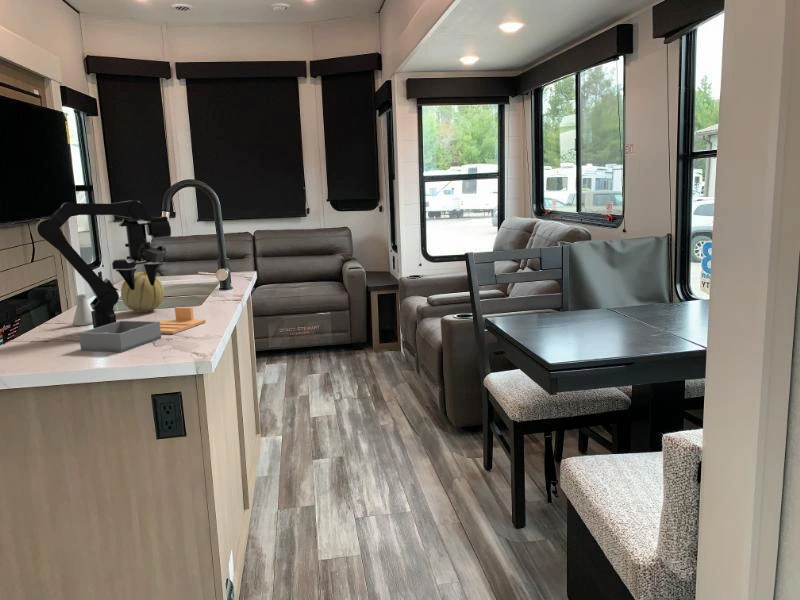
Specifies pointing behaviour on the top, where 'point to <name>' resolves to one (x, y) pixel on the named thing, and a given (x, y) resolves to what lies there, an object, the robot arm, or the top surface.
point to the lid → (180, 321)
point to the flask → (82, 312)
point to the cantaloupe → (142, 293)
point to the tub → (120, 336)
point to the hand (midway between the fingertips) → (143, 287)
